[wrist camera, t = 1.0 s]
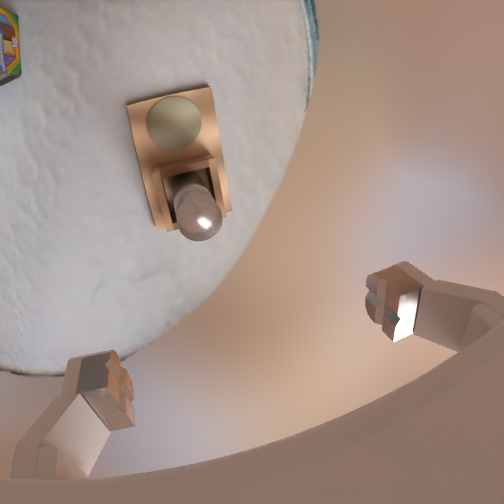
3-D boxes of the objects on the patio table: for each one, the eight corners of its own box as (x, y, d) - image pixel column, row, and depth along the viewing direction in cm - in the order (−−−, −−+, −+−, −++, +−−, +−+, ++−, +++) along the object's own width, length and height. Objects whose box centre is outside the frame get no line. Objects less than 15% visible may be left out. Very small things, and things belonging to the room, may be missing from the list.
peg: (167, 175, 37) (172, 204, 27) (199, 167, 38) (218, 193, 27) (174, 205, 39) (183, 246, 28) (205, 198, 40) (225, 234, 29)
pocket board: (127, 105, 33) (123, 105, 28) (209, 87, 34) (217, 84, 30) (156, 227, 40) (157, 242, 36) (230, 208, 42) (240, 221, 38)
